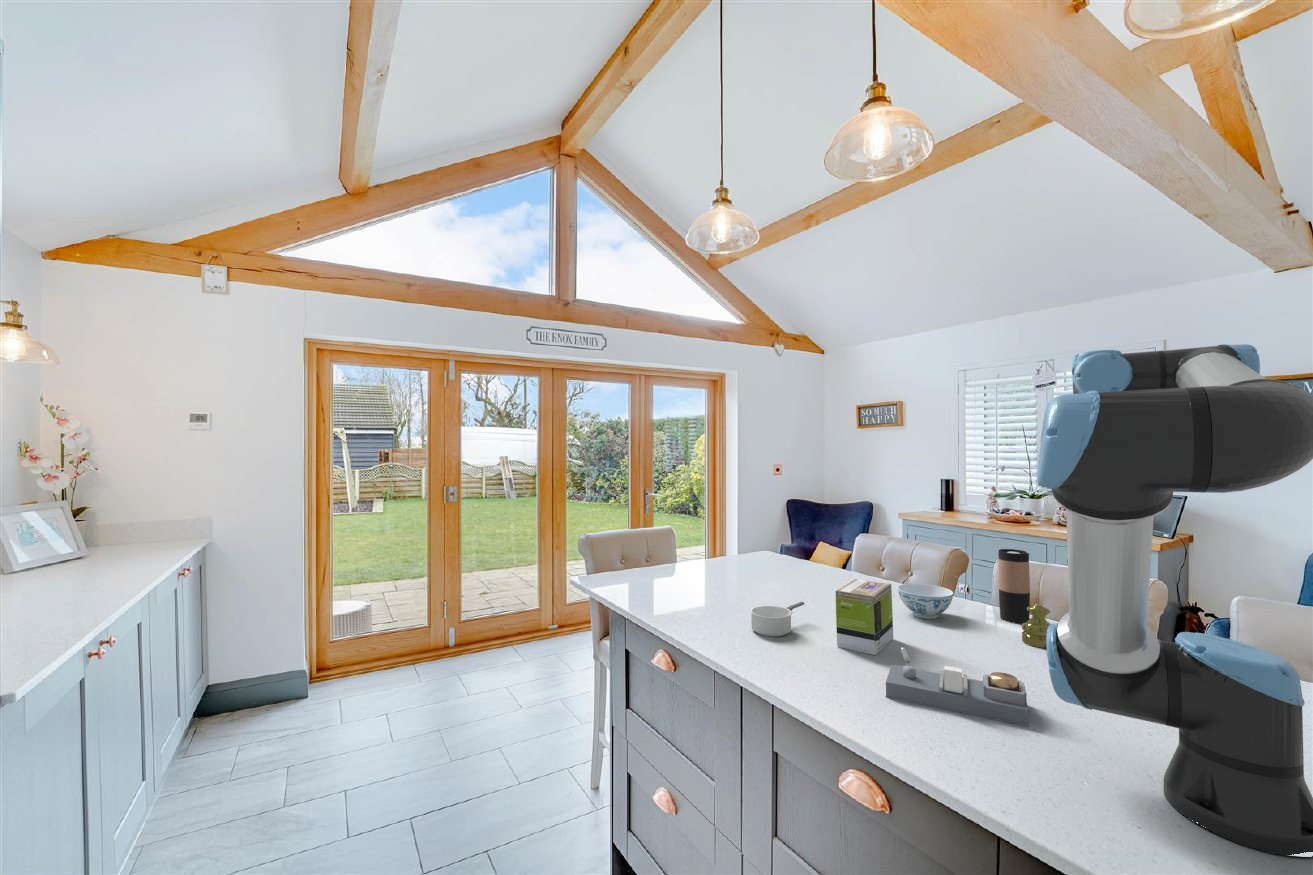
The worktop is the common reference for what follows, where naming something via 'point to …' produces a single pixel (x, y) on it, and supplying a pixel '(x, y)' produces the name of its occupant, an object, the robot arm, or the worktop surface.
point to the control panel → (958, 695)
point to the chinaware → (925, 599)
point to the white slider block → (953, 679)
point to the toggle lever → (905, 655)
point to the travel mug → (1014, 585)
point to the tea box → (864, 616)
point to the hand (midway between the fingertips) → (1101, 560)
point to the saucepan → (772, 619)
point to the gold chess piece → (1036, 626)
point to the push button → (1003, 681)
